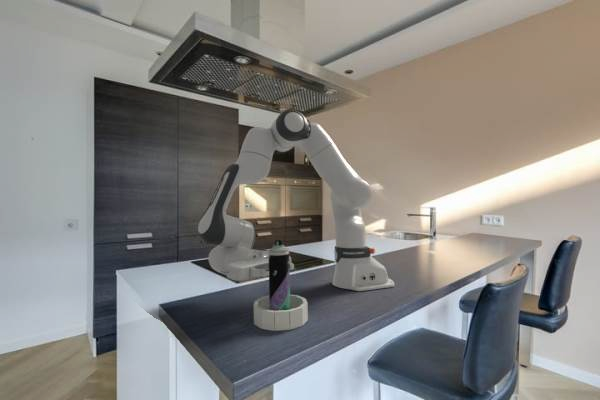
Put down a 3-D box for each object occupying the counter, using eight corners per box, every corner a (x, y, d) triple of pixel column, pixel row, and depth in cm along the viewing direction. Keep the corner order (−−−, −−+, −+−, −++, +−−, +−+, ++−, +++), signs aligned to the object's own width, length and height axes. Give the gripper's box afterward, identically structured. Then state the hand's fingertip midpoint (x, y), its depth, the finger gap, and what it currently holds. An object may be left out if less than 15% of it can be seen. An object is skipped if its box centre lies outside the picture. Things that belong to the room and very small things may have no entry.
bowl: (303, 308, 87) (303, 292, 87) (310, 328, 73) (310, 309, 73) (255, 311, 85) (254, 295, 85) (253, 332, 71) (252, 313, 71)
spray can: (272, 320, 75) (270, 242, 76) (267, 313, 81) (266, 239, 81) (293, 317, 77) (291, 240, 77) (286, 310, 82) (285, 238, 83)
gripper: (216, 258, 80) (249, 265, 71) (271, 249, 96) (304, 253, 86) (217, 282, 80) (249, 291, 71) (272, 268, 95) (305, 274, 86)
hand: (280, 270), depth 79 cm, fingers open, 8 cm apart
